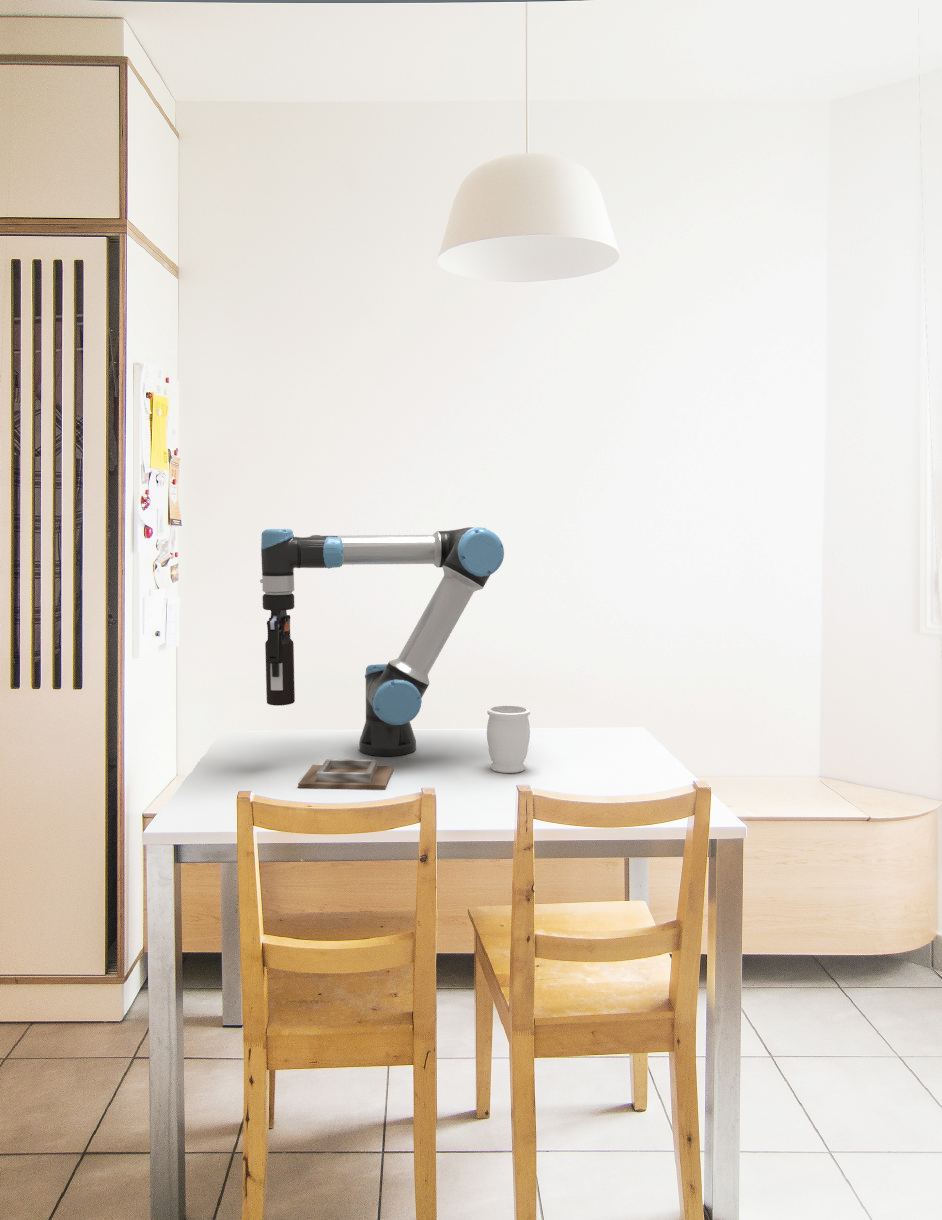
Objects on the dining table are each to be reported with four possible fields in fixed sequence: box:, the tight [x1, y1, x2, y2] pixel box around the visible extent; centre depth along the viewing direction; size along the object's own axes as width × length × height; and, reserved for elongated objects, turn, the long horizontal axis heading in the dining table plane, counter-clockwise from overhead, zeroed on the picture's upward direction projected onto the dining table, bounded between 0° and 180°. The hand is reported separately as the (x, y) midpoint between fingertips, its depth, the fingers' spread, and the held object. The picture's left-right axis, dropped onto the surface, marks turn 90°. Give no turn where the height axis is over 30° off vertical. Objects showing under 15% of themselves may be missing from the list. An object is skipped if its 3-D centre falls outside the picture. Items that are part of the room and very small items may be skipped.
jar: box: [486, 705, 531, 774], centre depth 227 cm, size 11×10×15 cm
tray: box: [297, 758, 395, 791], centre depth 218 cm, size 20×16×3 cm
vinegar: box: [264, 621, 296, 706], centre depth 225 cm, size 7×7×20 cm
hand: (280, 687), depth 225 cm, fingers closed on vinegar, 6 cm apart
